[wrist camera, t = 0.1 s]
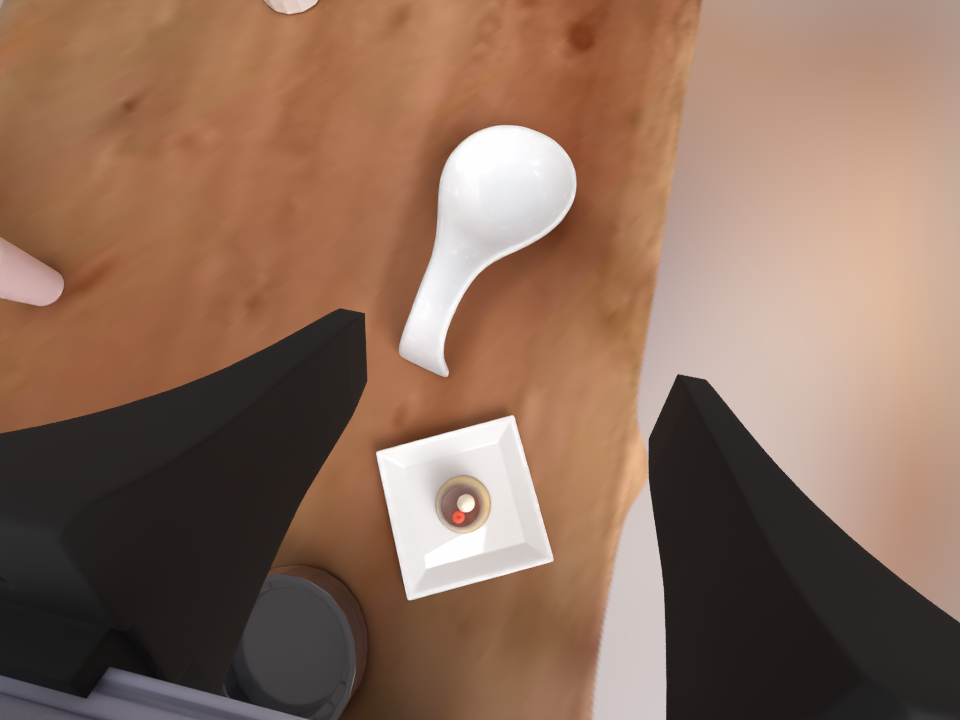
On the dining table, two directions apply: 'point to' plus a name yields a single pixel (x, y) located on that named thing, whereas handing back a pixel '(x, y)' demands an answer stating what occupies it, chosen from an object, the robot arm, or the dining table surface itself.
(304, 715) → the pan
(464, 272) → the spoon rest
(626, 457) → the dining table surface
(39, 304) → the smoothie
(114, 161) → the dining table surface
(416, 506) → the dessert
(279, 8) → the white cup
